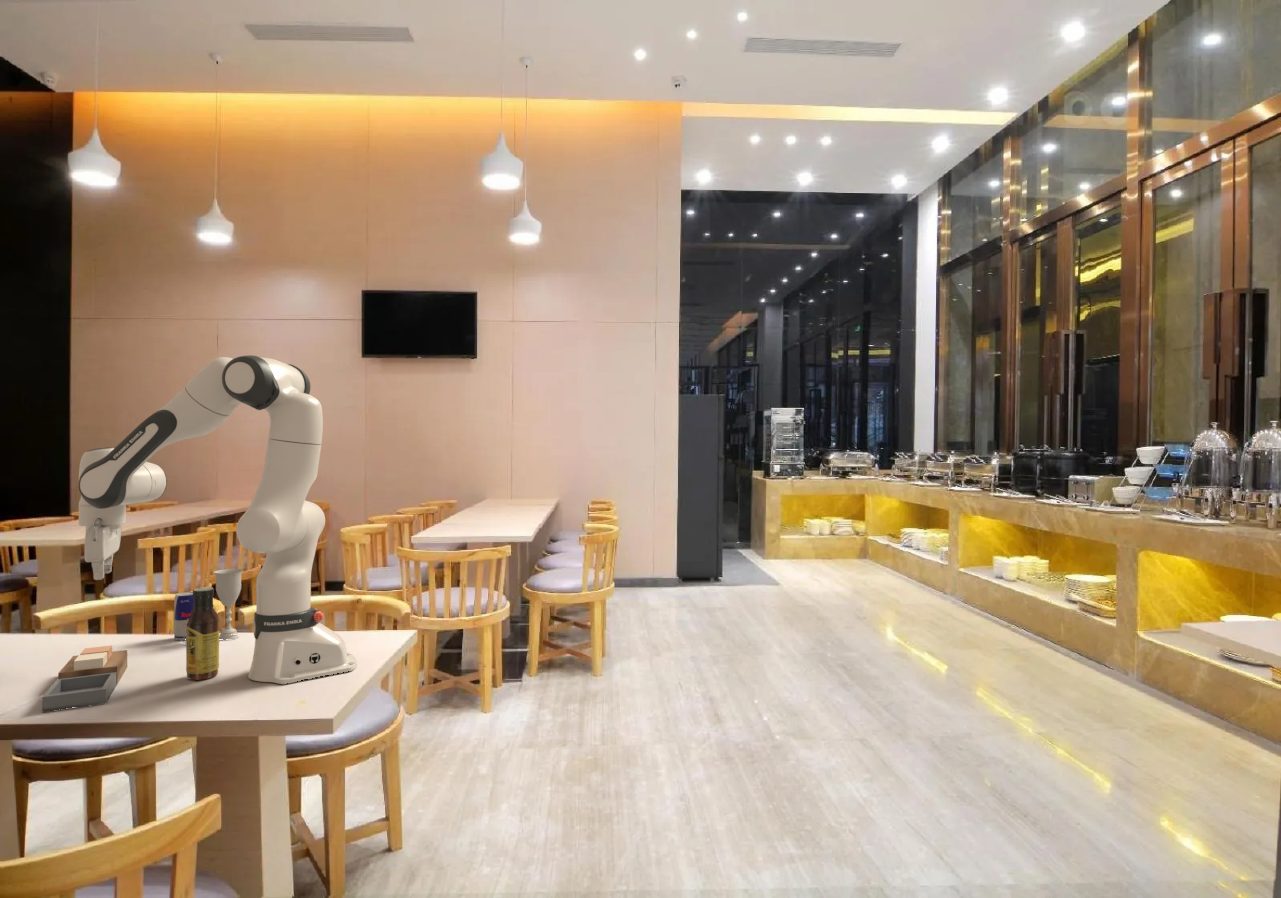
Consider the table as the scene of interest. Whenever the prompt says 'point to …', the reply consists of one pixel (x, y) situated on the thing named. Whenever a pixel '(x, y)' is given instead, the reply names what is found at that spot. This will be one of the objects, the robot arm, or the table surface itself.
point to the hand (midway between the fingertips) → (102, 576)
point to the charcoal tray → (79, 691)
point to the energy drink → (182, 614)
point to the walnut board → (112, 665)
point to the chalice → (228, 596)
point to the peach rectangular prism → (98, 651)
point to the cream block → (90, 661)
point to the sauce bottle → (202, 637)
